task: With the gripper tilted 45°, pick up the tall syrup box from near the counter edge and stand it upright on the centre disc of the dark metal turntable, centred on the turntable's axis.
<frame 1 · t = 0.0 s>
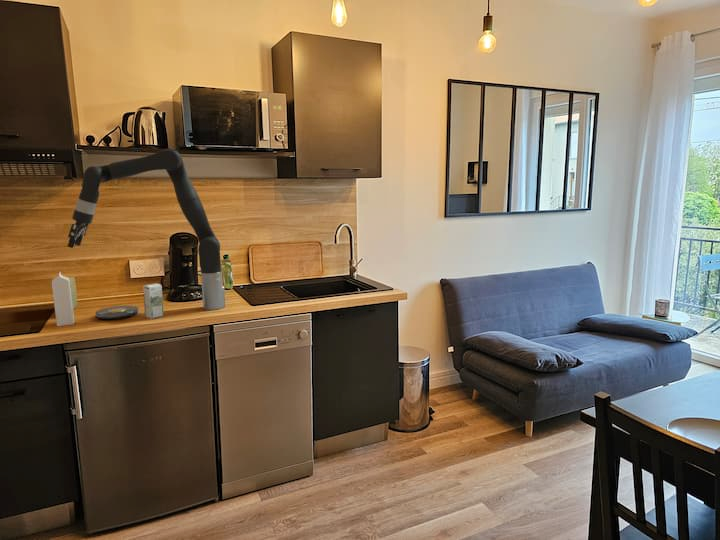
hand: (73, 246, 212), 31 cm above the countertop, tool tilted 20°, fingers open, 8 cm apart
syrup box: (154, 317, 215), on the countertop
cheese: (65, 312, 224), on the countertop
turntable: (117, 311, 216), point 2 cm above the countertop, hinge at 0.0°
turntable base: (117, 316, 217), on the countertop
milk: (65, 324, 206), on the countertop
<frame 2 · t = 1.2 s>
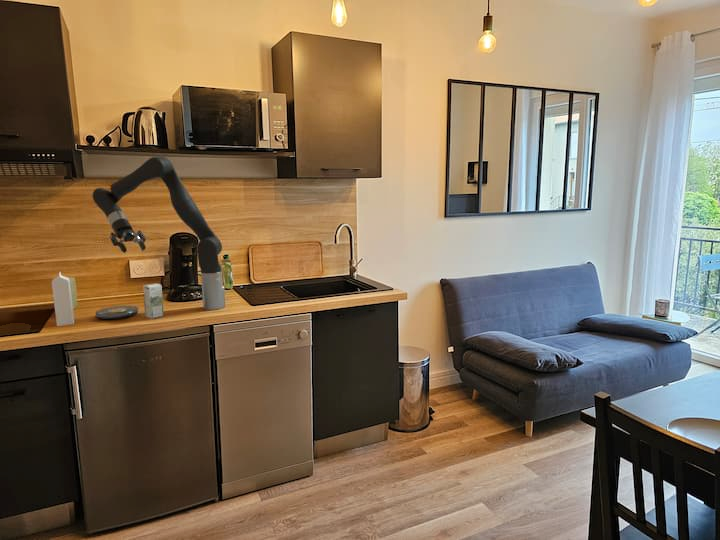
hand: (134, 250, 217), 29 cm above the countertop, tool tilted 45°, fingers open, 8 cm apart
nothing on the countertop moved.
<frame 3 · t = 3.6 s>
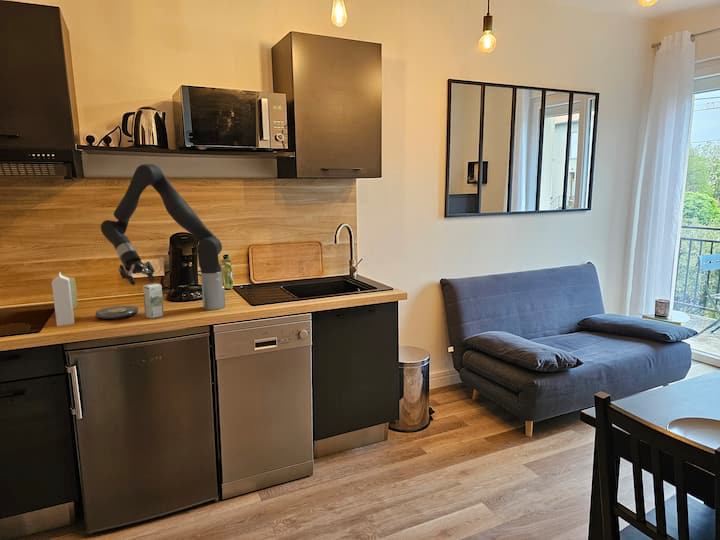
hand: (143, 282, 216), 15 cm above the countertop, tool tilted 45°, fingers open, 8 cm apart
nothing on the countertop moved.
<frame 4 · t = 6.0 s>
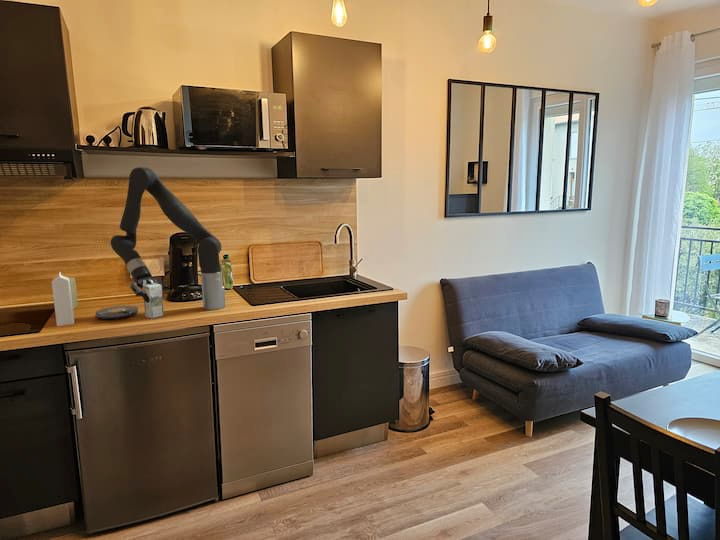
hand: (155, 300, 212), 8 cm above the countertop, tool tilted 45°, fingers closed on syrup box, 5 cm apart
syrup box: (154, 317, 215), on the countertop, touching gripper
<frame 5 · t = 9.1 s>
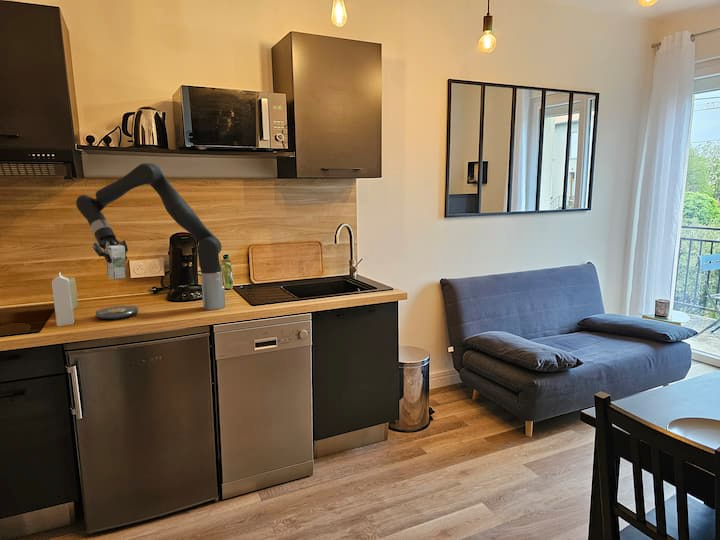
hand: (118, 261, 211), 25 cm above the countertop, tool tilted 45°, fingers closed on syrup box, 5 cm apart
syrup box: (117, 278, 214), point 17 cm above the countertop, touching gripper
when the fingers open (12 cm above the countertop, at t = 12.2 s): syrup box drops 1 cm, resting on turntable.
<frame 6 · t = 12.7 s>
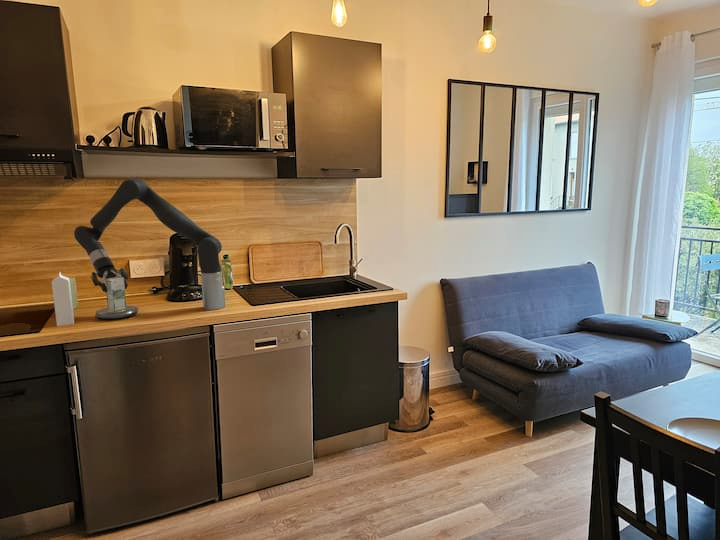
hand: (116, 289, 214), 12 cm above the countertop, tool tilted 45°, fingers open, 8 cm apart
syrup box: (117, 310, 217), point 3 cm above the countertop, touching turntable
turntable: (117, 311, 216), point 2 cm above the countertop, hinge at 0.0°, touching syrup box
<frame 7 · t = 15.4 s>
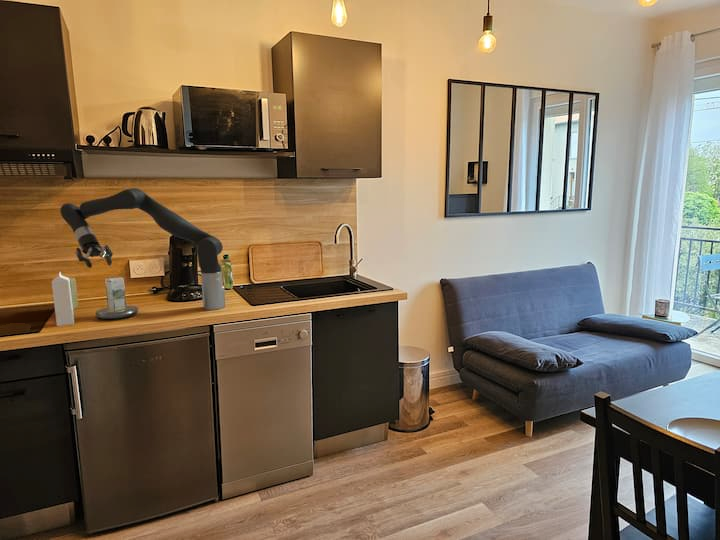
hand: (100, 265, 219), 22 cm above the countertop, tool tilted 45°, fingers open, 8 cm apart
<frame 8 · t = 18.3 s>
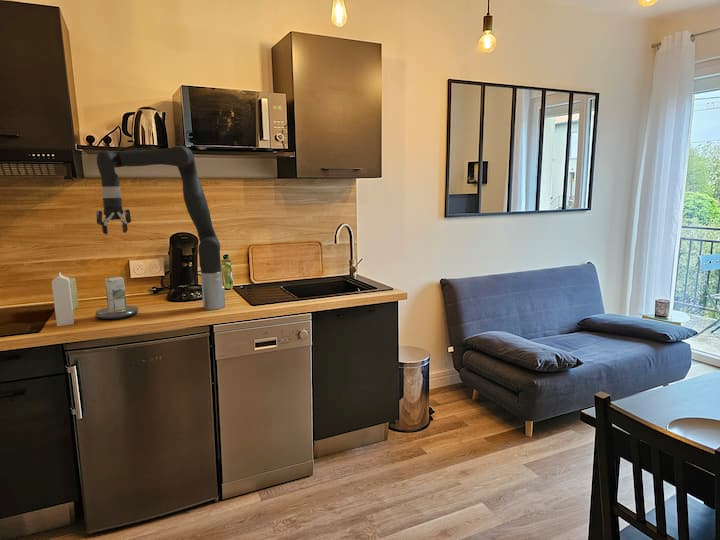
hand: (115, 233, 219), 36 cm above the countertop, tool pointing down, fingers open, 8 cm apart
at the end: syrup box 0.3 cm from the turntable (horizontally); syrup box tilted 0°; the gripper is holding nothing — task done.
